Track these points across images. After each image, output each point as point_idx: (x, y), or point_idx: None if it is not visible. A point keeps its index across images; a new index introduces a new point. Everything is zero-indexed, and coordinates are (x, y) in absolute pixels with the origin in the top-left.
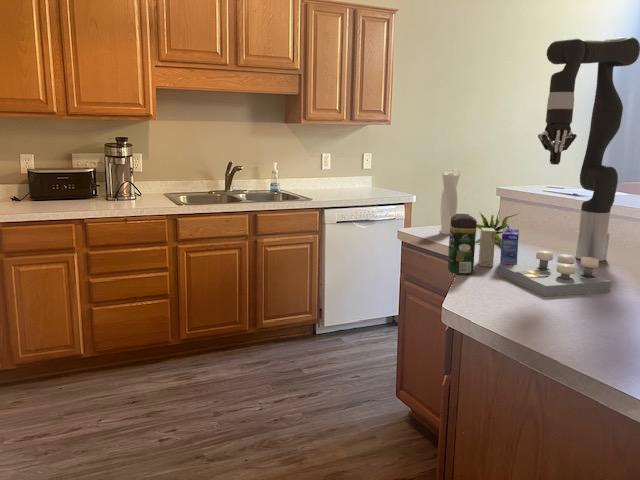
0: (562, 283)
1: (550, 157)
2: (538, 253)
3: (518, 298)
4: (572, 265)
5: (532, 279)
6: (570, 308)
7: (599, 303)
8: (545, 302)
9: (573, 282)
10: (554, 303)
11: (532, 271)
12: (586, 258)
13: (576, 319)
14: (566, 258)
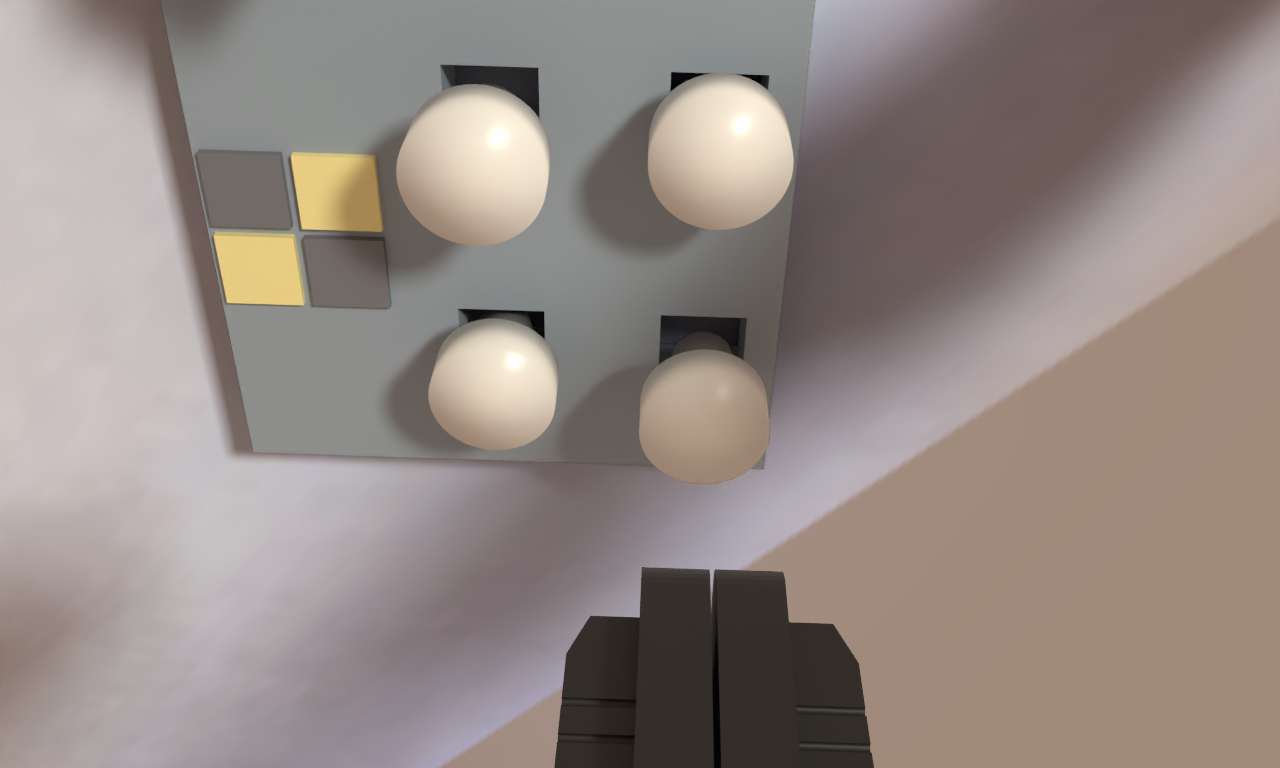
0: (396, 436)
1: (557, 758)
2: (399, 178)
3: (85, 402)
4: (542, 407)
5: (235, 326)
6: (305, 572)
7: (517, 554)
8: (218, 484)
9: None
10: (262, 505)
11: (332, 184)
12: (688, 418)
13: (244, 669)
14: (673, 213)
